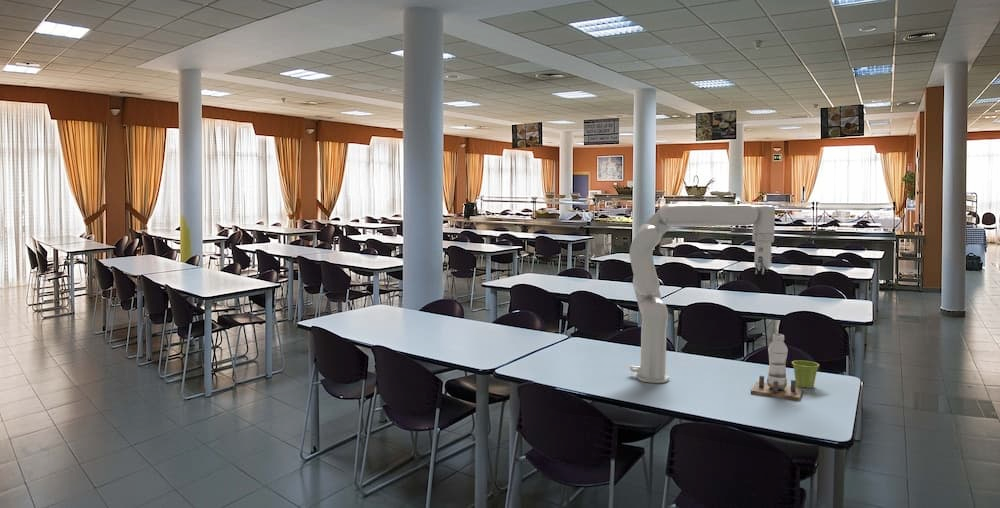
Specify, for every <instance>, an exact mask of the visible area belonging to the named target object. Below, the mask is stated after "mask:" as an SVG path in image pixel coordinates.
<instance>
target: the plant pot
mask: <svg viewBox="0 0 1000 508" xmlns="http://www.w3.org/2000/svg"><path fill="white" fill-rule="evenodd" d="M791 365H792V367H793V372H794V380H796V387H800V388H806V389H812V388H814V387H815V381H816V376H817V372H818V369H819V367H820V364H819V363H817V362H815V361H809V360H793V361H791Z"/></svg>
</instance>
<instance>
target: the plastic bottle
mask: <svg viewBox="0 0 1000 508" xmlns="http://www.w3.org/2000/svg"><path fill="white" fill-rule="evenodd" d="M784 341H785V335H784V334H782V333H773V334H772V342H770V344H769V345H768V348H767V352H768V353H767V354H768V362H769V363H768V365H769V367H768V372H767V373H768V374H767V379H766V383H767V385H768V386H769V387H770V388H772V389H773V382H774V381H776V382H778V390H782V389H785V388H786V386H788V385H787V384H788V379H787V375H786V374H787V373H786V371H787V370H786V367H787V366H786V364H787V357H788V351H789V349H788V347H787V345H786V343H785V342H784Z"/></svg>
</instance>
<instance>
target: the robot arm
mask: <svg viewBox="0 0 1000 508" xmlns="http://www.w3.org/2000/svg"><path fill="white" fill-rule="evenodd" d="M775 218H776V207H775V206H773V205H772V204H771V205H770V204H757V205H752V204H746V203H745V204H743V203H742V204H715V203H714V204H712V203H683V204H681V203H680V204H679V203H677V204H676V203H675V204H674V203H673V204H672V203H668V204H664V205H663V206H661V207H660V208H659V209H658V210H656V212H654V214H653V215H652V216H651V217H649V218H648V219H647V220H646V221H645V222H644V223H643V224H641V225H640V227H639V228H638V229H637V232H636V235H635V237H634V238H633V240H632V242H631V244H630V247H629V259H630V264H631V269H632V273H633V276H632V286H633V289H634V295H635V298H636V302H637V306H638V308H639V311H640V314H641V329H640V331H641V332H640V365H638V366H637V365H633V364H632V365H630V368H629V370H630V371H631V372H633V373H634V372H636V375H635V376H636V377H635V378H636V379H637V380H638V381H640V382H644V383H648V384H649V383H650V384H662V383H663V384H664V383H667V382H669V381H670V375H668V374H666V371H667V370H666V368H667V364H666V361H667V359H666V358H667V328H668V319H669V310H668V306H667V305H666V304H665V302H664V301H663V300H662V296H661V292H660V280H659V277H658V274H657V270H656V266H655V262H654V256H653V253H654V249H655V247H656V246H657V245H659V244H660V242H661V240H662V237H663V235H665V234H666V233H667V232H668V231H669V230H670V229H671V228H672V227H715V226H716V227H717V226H750V225H752V236H751V238H752V240H751V242H753V243H754V245H755V246H754V268H755V274H754V285H755V286H756V285H757V286H764V285H765V283H768V281H769V279H768V278H769V269H770V268H771V267H772V243H774V242H775Z"/></svg>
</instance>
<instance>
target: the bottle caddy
mask: <svg viewBox="0 0 1000 508" xmlns="http://www.w3.org/2000/svg"><path fill="white" fill-rule="evenodd" d="M758 378H759V381H755V383H754V384H753V386H752V388H751V389H750V394H751V395H755V396H757V395H758V396H763V397H764V396H765V397H771V398H776V399H777V398H778V399H783V400H790V401H791V400H792V401H798V402H799V401H801V398H802V395H803V391H804V387H799V386H797V385H796V380H795V379H790V385H786V388H785V389H782V390H778V382H776V381H774V382H773V389H772V388H770V387H769V386H768V385H767V382H765V375H759V377H758Z"/></svg>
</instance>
